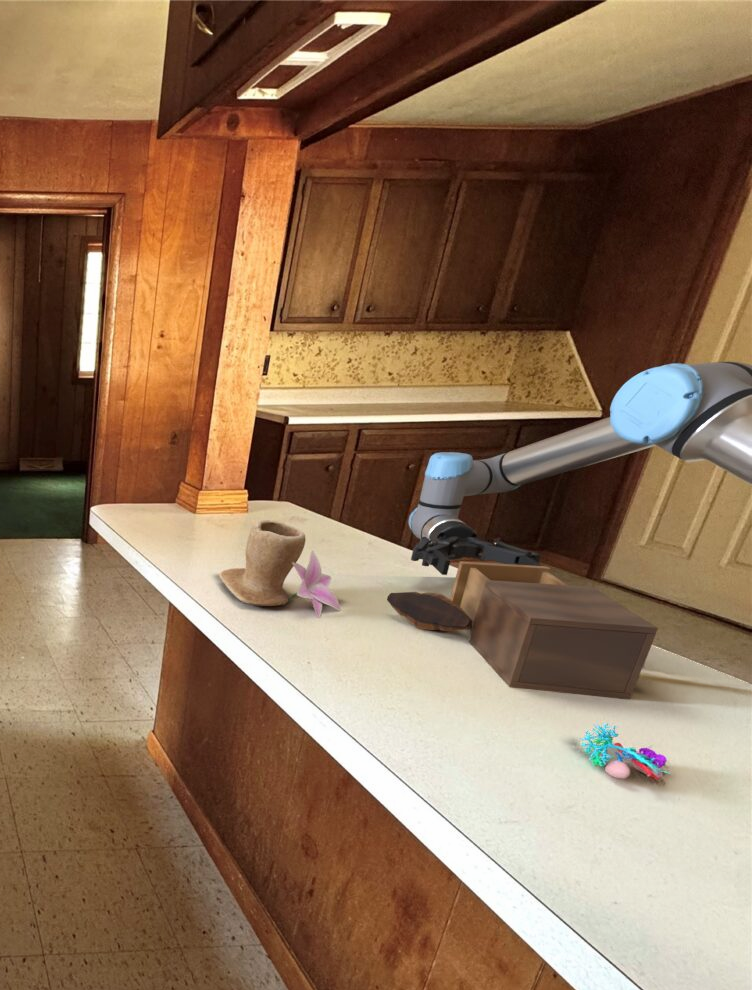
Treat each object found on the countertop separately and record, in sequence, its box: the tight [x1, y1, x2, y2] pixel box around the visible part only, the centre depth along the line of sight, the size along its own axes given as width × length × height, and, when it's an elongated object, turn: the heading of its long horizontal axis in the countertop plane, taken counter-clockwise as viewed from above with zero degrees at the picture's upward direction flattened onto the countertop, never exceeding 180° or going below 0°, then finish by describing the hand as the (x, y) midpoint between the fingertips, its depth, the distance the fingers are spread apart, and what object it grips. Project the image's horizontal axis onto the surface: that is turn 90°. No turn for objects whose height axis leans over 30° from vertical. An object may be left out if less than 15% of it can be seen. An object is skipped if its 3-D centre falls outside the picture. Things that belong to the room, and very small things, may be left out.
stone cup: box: [218, 519, 306, 607], centre depth 127 cm, size 15×12×15 cm
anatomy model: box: [579, 722, 670, 781], centre depth 75 cm, size 5×8×7 cm
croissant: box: [386, 591, 473, 632], centre depth 113 cm, size 14×7×5 cm
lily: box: [288, 550, 342, 618], centre depth 123 cm, size 12×12×10 cm
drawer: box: [449, 560, 567, 627], centre depth 112 cm, size 20×13×9 cm, turn 162°
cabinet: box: [468, 580, 659, 700], centre depth 98 cm, size 16×14×11 cm
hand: (491, 570), depth 118 cm, fingers open, 13 cm apart
